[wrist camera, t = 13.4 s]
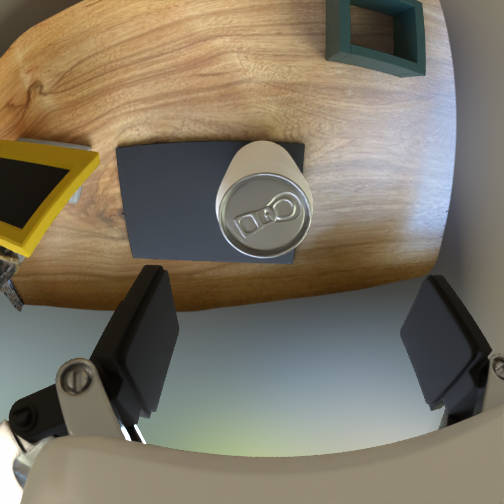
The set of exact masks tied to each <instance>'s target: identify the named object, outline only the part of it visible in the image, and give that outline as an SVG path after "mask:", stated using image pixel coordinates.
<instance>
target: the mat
mask: <svg viewBox="0 0 504 504" xmlns="http://www.w3.org/2000/svg"><path fill="white" fill-rule="evenodd" d="M252 142H255V141H188V142H169V143H155V144H144V145H134V146H125V147H118V148H116V155H117V165H118V174H119V182H120V189H121V196H122V203H123V209H124V215H125V220H126V226H127V231H128V236H129V241H130V246H131V251H132V255H133V258H146V259H168V260H192V261H218V262H245V263H275V264H293V259H294V251H295V248H294V249H292V250H291V251H289V252H287V253H285V254H283V255H280V256H277V257H271V258H258V257H253V256H249V255H246V254H244V253H242V252H240V251H238V250H237V249H236V248H234V247H233V246H232V245H231V244H230V243H229V242H228V241H227V240H226V238H225V237H224V235H223V233H222V231H221V228H220V225H219V221H218V218H217V214H216V197H217V193H218V190H219V187H220V185H221V183H222V180H223V178H224V176H225V174H226V172H227V170H228V167H229V165H230V163H231V161H232V160H233V158H234V156H235V155H236V153H237V152H238V151H239V150H240V149H241V148H242V147H244V146H245V145H247V144H249V143H252ZM273 143H276V144H278V145H280V146H281V147H283V148H284V149H285V150H286V151H287V152H288V153H289V155H290V156H291V157H292V159H293V160H294V162H295V164H296V165H297V167H298V168H299V170H300V172H301V173H303V161H304V149H305V144H299V143H285V142H273Z"/></svg>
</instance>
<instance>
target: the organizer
mask: <svg viewBox="0 0 504 504" xmlns="http://www.w3.org/2000/svg"><path fill="white" fill-rule="evenodd" d="M350 5H354V6H358V7H362V8H365V9H369V10H372V11H376V12H379V13H382V14H385V15H388V16H391V17H393V28H394V55H391V54H388V53H384V52H381V51H377V50H373V49H370V48H366V47H362V46H357V45H353V44H351V18H350ZM326 60H327V61H333V62H339V63H344V64H350V65H354V66H359V67H363V68H368V69H372V70H376V71H380V72H383V73H387V74H391V75H394V76H397V77H401V78H402V77H414V76H425V73H426V53H425V29H424V17H423V7H422V3H421V2H419V1H417V0H326Z"/></svg>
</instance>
